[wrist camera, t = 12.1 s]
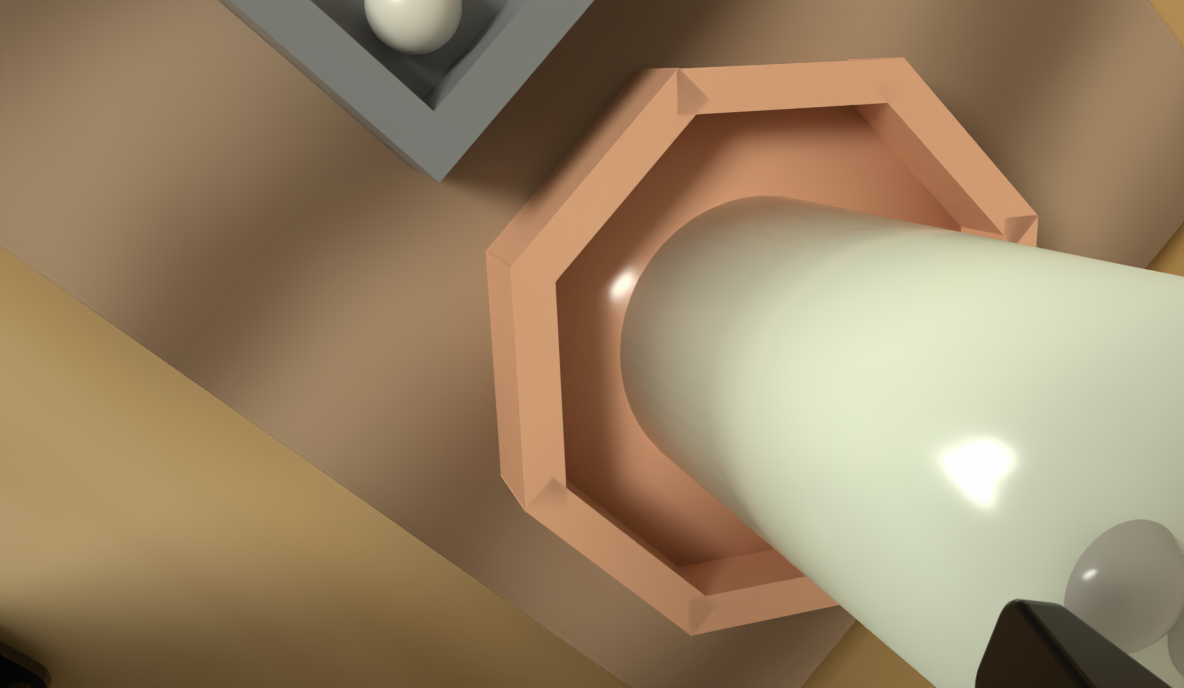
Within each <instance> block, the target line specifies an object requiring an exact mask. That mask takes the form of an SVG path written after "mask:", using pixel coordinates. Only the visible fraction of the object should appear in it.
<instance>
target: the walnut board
mask: <svg viewBox="0 0 1184 688" xmlns="http://www.w3.org/2000/svg"><path fill="white" fill-rule="evenodd" d="M899 57H904V58H905V60H906V61H907V62H908V63H909V64H910V65H911V67H912V68H913V69H914V70H915V71H916V73H917V74H918V75H919V76H920V77H921V78H922V80H923V81H924V82H925V83H926V84H927V85H928V87H929V88H930V89H931V90H932V91H933V93H934V94H935V95H936V96H937V97H938V98H939V100H940V101H941V102H942V103H943V104H944V106H945V107H946V108H947V109H948V110H949V111H950V113H951V114H952V115H953V116H954V117H955V118H956V120H957V121H958V122H959V123H960V124H961V126H962V127H963V128H964V129H965V130H966V131H967V133H968V134H969V135H970V136H971V137H972V138H973V140H974V141H975V142H976V143H977V144H978V146H979V147H980V148H981V149H982V150H983V151H984V153H985V154H986V155H987V156H988V157H989V158H990V160H991V161H992V162H993V163H994V164H995V166H996V167H997V168H998V169H999V170H1000V171H1001V173H1002V174H1003V175H1004V176H1005V177H1006V179H1007V180H1008V181H1009V182H1010V183H1011V184H1012V186H1013V187H1014V188H1015V189H1016V190H1017V191H1018V193H1019V194H1020V195H1021V196H1022V197H1023V199H1024V200H1025V201H1026V202H1027V203H1028V204H1029V206H1030V207H1031V208H1032V209H1033V210H1034V211H1035V213H1036V214H1037V215H1038V216H1039V217H1038V228H1037V245H1036V247H1038V248H1043V249H1047V250H1052V251H1057V252H1062V253H1067V254H1072V255H1077V256H1082V257H1087V258H1092V259H1097V260H1102V261H1107V262H1112V263H1117V264H1122V265H1127V266H1132V267H1137V268H1142V269H1145V268H1146V267H1147V266H1148V265H1149V264H1150V262H1151V261H1152V260H1153V259H1154V257H1155V256H1156V255H1157V254H1158V253H1159V251H1160V250H1161V249H1162V248H1163V247H1164V245H1165V244H1166V243H1167V242H1168V240H1169V239H1170V238H1171V237H1172V236H1173V234H1174V233H1175V232H1176V231H1177V229H1178V228H1179V227H1180V226H1181V225H1182V223H1183V222H1184V49H1183V48H1182V47H1181V45H1180V44H1179V42H1178V41H1177V39H1176V38H1175V37H1174V35H1173V34H1172V32H1171V31H1170V30H1169V28H1168V27H1167V25H1166V24H1165V23H1164V21H1163V20H1162V18H1161V17H1160V15H1159V14H1158V13H1157V11H1156V10H1155V8H1154V7H1153V6H1152V4H1151V3H1150V1H1149V0H594V1H593V2H592V3H591V5H590V6H589V7H588V8H587V9H586V10H585V12H584V13H583V14H582V15H581V16H580V18H579V19H578V20H577V21H576V22H575V23H574V25H573V26H572V27H571V28H570V29H569V31H568V32H567V33H566V34H565V35H564V36H563V38H562V39H561V40H560V41H559V42H558V44H557V45H556V46H555V47H554V48H553V49H552V51H551V52H550V53H549V54H548V55H547V56H546V58H545V59H544V60H543V61H542V62H541V64H540V65H539V66H538V67H537V68H536V69H535V71H534V72H533V73H532V74H531V75H530V77H529V78H528V79H527V80H526V81H525V82H524V84H523V85H522V86H521V87H520V88H519V90H518V91H517V92H516V93H515V94H514V95H513V97H512V98H511V99H510V100H509V101H508V103H507V104H506V105H505V106H504V107H503V108H502V110H501V111H500V112H499V113H498V114H497V116H496V117H495V118H494V119H493V120H492V121H491V123H490V124H489V125H488V126H487V127H486V128H485V130H484V131H483V132H482V133H481V134H480V136H479V137H478V138H477V139H476V140H475V141H474V143H473V144H472V145H471V146H470V147H469V149H468V150H467V151H466V152H465V153H464V154H463V156H462V157H461V158H460V159H459V160H458V162H457V163H456V164H455V165H454V166H453V167H452V169H451V170H450V171H449V172H448V173H447V175H446V176H445V177H444V178H443V179H442V180H441V182H440V183H439V182H437V181H435V180H433V179H431V178H429V177H427V176H425V175H423V174H421V173H419V172H417V171H415V170H414V169H412V168H411V167H410V166H409V165H408V164H407V163H405V162H404V161H403V160H402V159H401V158H400V157H398V156H397V155H396V154H395V153H394V152H393V151H392V150H390V149H389V148H388V147H387V146H386V145H385V144H383V143H382V142H381V141H380V140H379V139H378V138H377V137H375V136H374V135H373V134H372V133H371V132H370V131H368V130H367V129H366V128H365V127H364V126H363V125H362V124H360V123H359V122H358V121H357V120H356V119H355V118H353V117H352V116H351V115H350V114H349V113H348V112H347V111H345V110H344V109H343V108H342V107H341V106H340V105H338V104H337V103H336V102H335V101H334V100H333V99H332V98H330V97H329V96H328V95H327V94H326V93H325V92H323V91H322V90H321V89H320V88H319V87H318V86H317V85H315V84H314V83H313V82H312V81H311V80H310V79H308V78H307V77H306V76H305V75H304V74H303V73H302V72H300V71H299V70H298V69H297V68H296V67H295V66H293V65H292V64H291V63H290V62H289V61H288V60H287V59H285V58H284V57H283V56H282V55H281V54H280V53H278V52H277V51H276V50H275V49H274V48H273V47H272V46H270V45H269V44H268V43H267V42H266V41H265V40H263V39H262V38H261V37H260V36H259V35H258V34H257V33H255V32H254V31H253V30H252V29H251V28H250V27H248V26H247V25H246V24H245V23H244V22H243V21H242V20H240V19H239V18H238V17H237V16H236V15H235V14H233V13H232V12H231V11H230V10H229V9H228V8H227V7H225V6H224V5H223V4H222V3H221V2H220V1H218V0H0V246H1V247H3V248H4V249H6V250H7V251H8V252H10V253H11V254H13V255H14V256H16V257H17V258H18V259H20V260H21V261H23V262H24V263H26V264H27V265H28V266H30V267H31V268H33V269H34V270H36V271H37V272H38V273H40V274H41V275H43V276H44V277H46V278H47V279H48V280H50V281H51V282H53V283H54V284H55V285H57V286H58V287H60V288H61V289H63V290H64V291H65V292H67V293H68V294H70V295H71V296H73V297H74V298H75V299H77V300H78V301H80V302H81V303H83V304H84V305H85V306H87V307H88V308H90V309H91V310H93V311H94V312H95V313H97V314H98V315H100V316H101V317H103V318H104V319H105V320H107V321H108V322H110V323H111V324H113V325H114V326H115V327H117V328H118V329H120V330H121V331H123V332H124V333H125V334H127V335H128V336H130V337H131V338H132V339H134V340H135V341H137V342H138V343H140V344H141V345H142V346H144V347H145V348H147V349H148V350H150V351H151V352H152V353H154V354H155V355H157V356H158V357H160V358H161V359H162V360H164V361H165V362H167V363H168V364H170V365H171V366H172V367H174V368H175V369H177V370H178V371H180V372H181V373H182V374H184V375H185V376H187V377H188V378H190V379H191V380H192V381H194V382H195V383H197V384H198V385H200V386H201V387H202V388H204V389H205V390H207V391H208V392H210V393H211V394H212V395H214V396H215V397H217V398H218V399H219V400H221V401H222V402H224V403H225V404H227V405H228V406H229V407H231V408H232V409H234V410H235V411H237V412H238V413H239V414H241V415H242V416H244V417H245V418H247V419H248V420H249V421H251V422H252V423H254V424H255V425H257V426H258V427H259V428H261V429H262V430H264V431H265V432H267V433H268V434H269V435H271V436H272V437H274V438H275V439H277V440H278V441H279V442H281V443H282V444H284V445H285V446H287V447H288V448H289V449H291V450H292V451H294V452H295V453H296V454H298V455H299V456H301V457H302V458H304V459H305V460H306V461H308V462H309V463H311V464H312V465H314V466H315V467H316V468H318V469H319V470H321V471H322V472H324V473H325V474H326V475H328V476H329V477H331V478H332V479H334V480H335V481H336V482H338V483H339V484H341V485H342V486H344V487H345V488H346V489H348V490H349V491H351V492H352V493H354V494H355V495H356V496H358V497H359V498H361V499H362V500H364V501H365V502H366V503H368V504H369V505H371V506H372V507H373V508H375V509H376V510H378V511H379V512H381V513H382V514H383V515H385V516H386V517H388V518H389V519H391V520H392V521H393V522H395V523H396V524H398V525H399V526H401V527H402V528H403V529H405V530H406V531H408V532H409V533H411V534H412V535H413V536H415V537H416V538H418V539H419V540H421V541H422V542H423V543H425V544H426V545H428V546H429V547H431V548H432V549H433V550H435V551H436V552H438V553H439V554H441V555H442V556H443V557H445V558H446V559H448V560H449V561H450V562H452V563H453V564H455V565H456V566H458V567H459V568H460V569H462V570H463V571H465V572H466V573H468V574H469V575H470V576H472V577H473V578H475V579H476V580H478V581H479V582H480V583H482V584H483V585H485V586H486V587H488V588H489V589H490V590H492V591H493V592H495V593H496V594H498V595H499V596H500V597H502V598H503V599H505V600H506V601H508V602H509V603H510V604H512V605H513V606H515V607H516V608H518V609H519V610H520V611H522V612H523V613H525V614H526V615H527V616H529V617H530V618H532V619H533V620H535V621H536V622H537V623H539V624H540V625H542V626H543V627H545V628H546V629H547V630H549V631H550V632H552V633H553V634H555V635H556V636H557V637H559V638H560V639H562V640H563V641H565V642H566V643H567V644H569V645H570V646H572V647H573V648H575V649H576V650H577V651H579V652H580V653H582V654H583V655H585V656H586V657H587V658H589V659H590V660H592V661H593V662H595V663H596V664H597V665H599V666H600V667H602V668H603V669H604V670H606V671H607V672H609V673H610V674H612V675H613V676H614V677H616V678H617V679H619V680H620V681H622V682H623V683H624V684H626V685H627V686H629V687H630V688H801V687H802V686H803V685H804V683H805V682H806V681H807V680H808V678H809V677H810V676H811V675H812V674H813V672H814V671H815V670H816V669H817V667H818V666H819V665H820V664H821V663H822V661H823V660H824V659H825V658H826V657H827V655H828V654H829V653H830V652H831V650H832V649H833V648H834V647H835V646H836V644H837V643H838V642H839V641H840V639H841V638H842V637H843V636H844V635H845V633H846V632H847V631H848V630H849V629H850V627H851V626H852V625H853V624H854V622H855V621H856V620H857V619H856V618H854V617H853V616H852V615H851V614H850V613H849V612H847V611H846V610H845V609H844V608H843V607H842V606H840V605H836V606H832V607H827V608H822V609H817V610H812V611H807V612H803V613H798V614H793V615H788V616H783V617H778V618H774V619H769V620H764V621H759V622H754V623H750V624H745V625H740V626H735V627H730V628H725V629H721V630H716V631H711V632H706V633H701V634H696V635H692V636H690V635H689V634H688V633H687V632H686V631H684V630H683V629H682V628H680V627H679V626H678V625H676V624H675V623H674V622H672V621H671V620H670V619H668V618H667V617H666V616H664V615H663V614H662V613H660V612H659V611H658V610H656V609H655V608H654V607H652V606H651V605H650V604H648V603H647V602H646V601H644V600H643V599H642V598H640V597H639V596H638V595H636V594H635V593H634V592H632V591H631V590H630V589H628V588H627V587H626V586H624V585H623V584H622V583H620V582H619V581H618V580H616V579H615V578H614V577H612V576H611V575H610V574H608V573H607V572H606V571H604V570H603V569H602V568H600V567H599V566H598V565H596V564H595V563H594V562H592V561H591V560H590V559H588V558H587V557H586V556H584V555H583V554H582V553H580V552H579V551H578V550H576V549H575V548H574V547H572V546H571V545H570V544H568V543H567V542H566V541H564V540H563V539H562V538H560V537H559V536H558V535H556V534H555V533H554V532H552V531H551V530H550V529H548V528H547V527H546V526H544V525H543V524H542V523H540V522H539V521H538V520H536V519H535V518H534V517H532V516H531V515H530V514H528V513H527V512H525V511H524V509H523V508H522V506H521V505H520V503H519V502H518V501H517V499H516V498H515V496H514V495H513V493H512V492H511V490H510V489H509V487H508V486H507V484H506V483H505V481H504V480H503V478H502V477H501V475H500V474H501V469H500V455H499V440H498V425H497V411H496V396H495V382H494V367H493V352H492V338H491V323H490V308H489V294H488V279H487V265H486V253H485V251H486V250H487V249H488V248H489V247H490V245H491V244H492V243H493V242H494V241H495V239H496V238H497V237H498V236H499V235H500V234H501V232H502V231H503V230H504V229H505V228H506V226H507V225H508V224H509V223H510V222H511V220H512V219H513V218H514V217H515V216H516V215H517V213H518V212H519V211H520V210H521V209H522V207H523V206H524V205H525V204H526V203H527V202H528V200H529V199H530V198H531V197H532V196H533V194H534V193H535V192H536V191H537V190H538V188H539V187H540V186H541V185H542V184H543V183H544V181H545V180H546V179H547V178H548V177H549V175H550V174H551V173H552V172H553V171H554V170H555V168H556V167H557V166H558V165H559V164H560V162H561V161H562V160H563V159H564V158H565V156H566V155H567V154H568V153H569V152H570V151H571V149H572V148H573V147H574V146H575V145H576V143H577V142H578V141H579V140H580V139H581V138H582V136H583V135H584V134H585V133H586V132H587V130H588V129H589V128H590V127H591V126H592V124H593V123H594V122H595V121H596V120H597V119H598V117H599V116H600V115H601V114H602V113H603V111H604V110H605V109H606V108H607V107H608V106H609V104H610V103H611V102H612V101H613V100H614V98H615V97H616V96H617V95H618V94H619V92H620V91H621V90H622V89H623V88H624V87H625V85H626V84H627V83H628V82H629V81H630V79H631V78H632V77H633V76H634V75H635V74H636V72H637V70H639V69H657V68H691V67H713V66H734V65H756V64H777V63H799V62H820V61H841V60H848V59H872V58H899Z"/></svg>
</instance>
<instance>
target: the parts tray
mask: <svg viewBox="0 0 1184 688" xmlns="http://www.w3.org/2000/svg"><path fill="white" fill-rule="evenodd" d="M218 1H220V2H221V3H222V4H223V5H224V6H225V7H227V8H228V9H229V10H230V11H231V12H232V13H233V14H235V15H236V16H237V17H238V18H239V19H240V20H242V21H243V22H244V23H245V24H246V25H247V26H248V27H250V28H251V29H252V30H253V31H254V32H255V33H257V34H258V35H259V36H260V37H261V38H262V39H263V40H265V41H266V42H267V43H268V44H269V45H270V46H272V47H273V48H274V49H275V50H276V51H277V52H278V53H280V54H281V55H282V56H283V57H284V58H285V59H287V60H288V61H289V62H290V63H291V64H292V65H293V66H295V67H296V68H297V69H298V70H299V71H300V72H302V73H303V74H304V75H305V76H306V77H307V78H308V79H310V80H311V81H312V82H313V83H314V84H315V85H317V86H318V87H319V88H320V89H321V90H322V91H323V92H325V93H326V94H327V95H328V96H329V97H330V98H332V99H333V100H334V101H335V102H336V103H337V104H338V105H340V106H341V107H342V108H343V109H344V110H345V111H347V112H348V113H349V114H350V115H351V116H352V117H353V118H355V119H356V120H357V121H358V122H359V123H360V124H362V125H363V126H364V127H365V128H366V129H367V130H368V131H370V132H371V133H372V134H373V135H374V136H375V137H377V138H378V139H379V140H380V141H381V142H382V143H383V144H385V145H386V146H387V147H388V148H389V149H390V150H392V151H393V152H394V153H395V154H396V155H397V156H398V157H400V158H401V159H402V160H403V161H404V162H405V163H407V164H408V165H409V166H410V167H411V168H412V169H414V170H415V171H417V172H419V173H421V174H423V175H425V176H427V177H429V178H431V179H433V180H435V181H437V182H439V183H440V182H441V180H442V179H443V178H444V177H445V176H446V175H447V173H448V172H449V171H450V170H451V169H452V167H453V166H454V165H455V164H456V163H457V162H458V160H459V159H460V158H461V157H462V156H463V154H464V153H465V152H466V151H467V150H468V149H469V147H470V146H471V145H472V144H473V143H474V141H475V140H476V139H477V138H478V137H479V136H480V134H481V133H482V132H483V131H484V130H485V128H486V127H487V126H488V125H489V124H490V123H491V121H492V120H493V119H494V118H495V117H496V116H497V114H498V113H499V112H500V111H501V110H502V108H503V107H504V106H505V105H506V104H507V103H508V101H509V100H510V99H511V98H512V97H513V95H514V94H515V93H516V92H517V91H518V90H519V88H520V87H521V86H522V85H523V84H524V82H525V81H526V80H527V79H528V78H529V77H530V75H531V74H532V73H533V72H534V71H535V69H536V68H537V67H538V66H539V65H540V64H541V62H542V61H543V60H544V59H545V58H546V56H547V55H548V54H549V53H550V52H551V51H552V49H553V48H554V47H555V46H556V45H557V44H558V42H559V41H560V40H561V39H562V38H563V36H564V35H565V34H566V33H567V32H568V31H569V29H570V28H571V27H572V26H573V25H574V23H575V22H576V21H577V20H578V19H579V18H580V16H581V15H582V14H583V13H584V12H585V10H586V9H587V8H588V7H589V6H590V5H591V3H592V2H593V1H594V0H218Z"/></svg>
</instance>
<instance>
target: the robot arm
mask: <svg viewBox="0 0 1184 688" xmlns="http://www.w3.org/2000/svg"><path fill="white" fill-rule="evenodd" d="M18 682H22V683H26V684H29V685H30V686H31V687H32V688H51V677H50V674H49V672H48V670H47V669H46V668H45V667H43V666H42V665H41V664H40V663H38V662H36V661H34V660H33V659H31V658H29V657H27V656H25V655H24V654H22V653H20V652H18V651H16V650H15V649H13V648H11V647H9V646H7V645H5V644H4V643H2V642H0V688H8V686H10V685H11V684H13V683H18ZM975 688H1172V687H1171V686H1170V685H1168V684H1167V683H1166V682H1164V681H1163V680H1162V679H1160V678H1159V677H1158V676H1156V675H1155V674H1154V673H1152V672H1151V671H1149V670H1148V669H1147V668H1145V667H1144V666H1143V665H1141V664H1140V663H1139V662H1137V661H1136V660H1135V659H1133V658H1132V657H1131V656H1129V655H1128V654H1127V653H1125V652H1124V651H1123V650H1121V649H1120V648H1119V647H1117V646H1116V645H1115V644H1113V643H1112V642H1111V641H1109V640H1108V639H1107V638H1105V637H1104V636H1103V635H1101V634H1100V633H1099V632H1097V631H1096V630H1095V629H1093V628H1092V627H1091V626H1089V625H1088V624H1087V623H1085V622H1084V621H1083V620H1081V619H1080V618H1079V617H1077V616H1076V615H1075V614H1073V613H1072V612H1071V611H1069V610H1068V609H1067V608H1065V607H1064V606H1062V605H1060V604H1057V603H1052V602H1044V601H1036V600H1027V599H1014V600H1011V601H1009V602H1008V603H1007V604H1006V605H1005V606H1004V607H1003V609H1002V611H1001V613H1000V615H999V617H998V620H997V622H996V625H995V627H994V630H993V632H992V635H991V637H990V640H989V642H988V645H987V647H986V650H985V652H984V655H983V657H982V660H981V662H980V665H979V667H978V670H977V674H976V679H975Z"/></svg>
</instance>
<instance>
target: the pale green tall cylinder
mask: <svg viewBox="0 0 1184 688" xmlns="http://www.w3.org/2000/svg"><path fill="white" fill-rule="evenodd" d="M620 365H621V375H622V380H623V386H624V391H625V394H626V397H627V400H628V403H629V406H630V408H631V410H632V412H633V414H634V416H635V418H636V420H637V422H638V424H639V426H640V427H641V429H642V430H643V431H644V433H645V434H646V436H647V437H648V439H649V440H650V441H651V442H652V443H653V444H654V445H655V446H656V447H657V448H658V449H659V450H660V451H661V452H662V453H663V454H664V455H665V456H666V457H668V458H669V459H670V460H671V461H672V462H673V463H675V464H676V465H677V466H678V467H679V468H680V469H682V470H683V471H684V472H685V473H686V474H687V475H689V476H690V477H691V478H692V479H693V480H695V481H696V482H697V483H698V484H699V485H700V486H702V487H703V488H704V489H705V490H706V491H707V492H709V493H710V494H711V495H712V496H713V497H714V498H716V499H717V500H718V501H719V502H720V503H721V504H723V505H724V506H725V507H726V508H727V509H728V510H730V511H731V512H732V513H733V514H734V515H735V516H737V517H738V518H739V519H740V520H741V521H742V522H744V523H745V524H746V525H747V526H748V527H749V528H751V529H752V530H753V531H754V532H755V533H756V534H758V535H759V536H760V537H761V538H762V539H763V540H765V541H766V542H767V543H768V544H769V545H770V546H772V547H773V548H774V549H775V550H776V551H777V552H779V553H780V554H781V555H782V556H783V557H784V558H786V559H787V560H788V561H789V562H790V563H791V564H793V565H794V566H795V567H796V568H797V569H798V570H800V571H801V572H802V573H803V574H804V575H805V576H807V577H808V578H809V579H810V580H811V581H812V582H814V583H815V584H816V585H817V586H818V587H819V588H821V589H822V590H823V591H824V592H825V593H826V594H828V595H829V596H830V597H831V598H832V599H833V600H835V601H836V602H837V603H838V604H839V605H840V606H842V607H843V608H844V609H845V610H846V611H847V612H849V613H850V614H851V615H852V616H853V617H854V618H856V619H857V620H858V621H859V622H860V623H861V624H863V625H864V626H865V627H866V628H867V629H869V630H870V631H871V632H872V633H873V634H874V635H876V636H877V637H878V638H879V639H880V640H881V641H883V642H884V643H885V644H886V645H887V646H888V647H890V648H891V649H892V650H893V651H894V652H895V653H897V654H898V655H899V656H900V657H901V658H902V659H904V660H905V661H906V662H907V663H908V664H909V665H911V666H912V667H913V668H914V669H915V670H916V671H918V672H919V673H920V674H921V675H922V676H923V677H925V678H926V679H927V680H928V681H929V682H930V683H932V684H933V685H934V686H935V687H936V688H975V679H976V674H977V670H978V667H979V665H980V662H981V660H982V657H983V655H984V652H985V650H986V647H987V645H988V642H989V640H990V637H991V635H992V632H993V630H994V627H995V625H996V622H997V620H998V617H999V615H1000V613H1001V611H1002V609H1003V607H1004V606H1005V605H1006V604H1007V603H1008V602H1009V601H1011V600H1014V599H1027V600H1036V601H1044V602H1052V603H1057V604H1060V605H1062V606H1064V607H1065V608H1067V609H1068V610H1069V611H1071V612H1072V613H1073V614H1075V615H1076V616H1077V617H1079V618H1080V619H1081V620H1083V621H1084V622H1085V623H1087V624H1088V625H1089V626H1091V627H1092V628H1093V629H1095V630H1096V631H1097V632H1099V633H1100V634H1101V635H1103V636H1104V637H1105V638H1107V639H1108V640H1109V641H1111V642H1112V643H1113V644H1115V645H1116V646H1117V647H1119V648H1120V649H1121V650H1123V651H1124V652H1125V653H1127V654H1128V655H1129V656H1131V657H1132V658H1133V659H1135V660H1136V661H1137V662H1139V663H1140V664H1141V665H1143V666H1144V667H1145V668H1147V669H1148V670H1149V671H1151V672H1152V673H1154V674H1155V675H1156V676H1158V677H1159V678H1160V679H1162V680H1163V681H1164V682H1166V683H1167V684H1168V685H1170V686H1171V687H1172V688H1184V277H1182V276H1177V275H1172V274H1167V273H1162V272H1157V271H1152V270H1147V269H1142V268H1137V267H1132V266H1127V265H1122V264H1117V263H1112V262H1107V261H1102V260H1097V259H1092V258H1087V257H1082V256H1077V255H1072V254H1067V253H1062V252H1057V251H1052V250H1047V249H1043V248H1038V247H1033V246H1028V245H1023V244H1018V243H1013V242H1008V241H1003V240H998V239H993V238H988V237H983V236H978V235H973V234H968V233H963V232H958V231H953V230H948V229H943V228H938V227H933V226H928V225H923V224H918V223H913V222H908V221H903V220H898V219H893V218H888V217H883V216H878V215H873V214H868V213H863V212H859V211H854V210H849V209H844V208H839V207H834V206H829V205H824V204H819V203H814V202H809V201H804V200H799V199H794V198H788V197H783V196H765V195H762V196H753V197H745V198H741V199H737V200H733V201H729V202H726V203H723V204H721V205H718V206H716V207H713V208H711V209H709V210H707V211H705V212H703V213H702V214H700V215H698V216H696V217H695V218H693V219H692V220H690V221H689V222H688V223H686V224H685V225H684V226H682V227H681V228H680V229H678V230H677V231H676V232H675V233H674V234H673V235H672V236H671V237H670V238H669V239H668V240H667V241H666V242H665V243H664V244H663V245H662V246H661V247H660V248H659V250H658V251H657V252H656V253H655V255H654V256H653V257H652V258H651V260H650V261H649V263H648V264H647V266H646V267H645V269H644V271H643V272H642V274H641V276H640V277H639V279H638V282H637V284H636V286H635V288H634V290H633V292H632V294H631V297H630V300H629V303H628V306H627V309H626V313H625V316H624V322H623V327H622V332H621V343H620Z"/></svg>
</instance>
